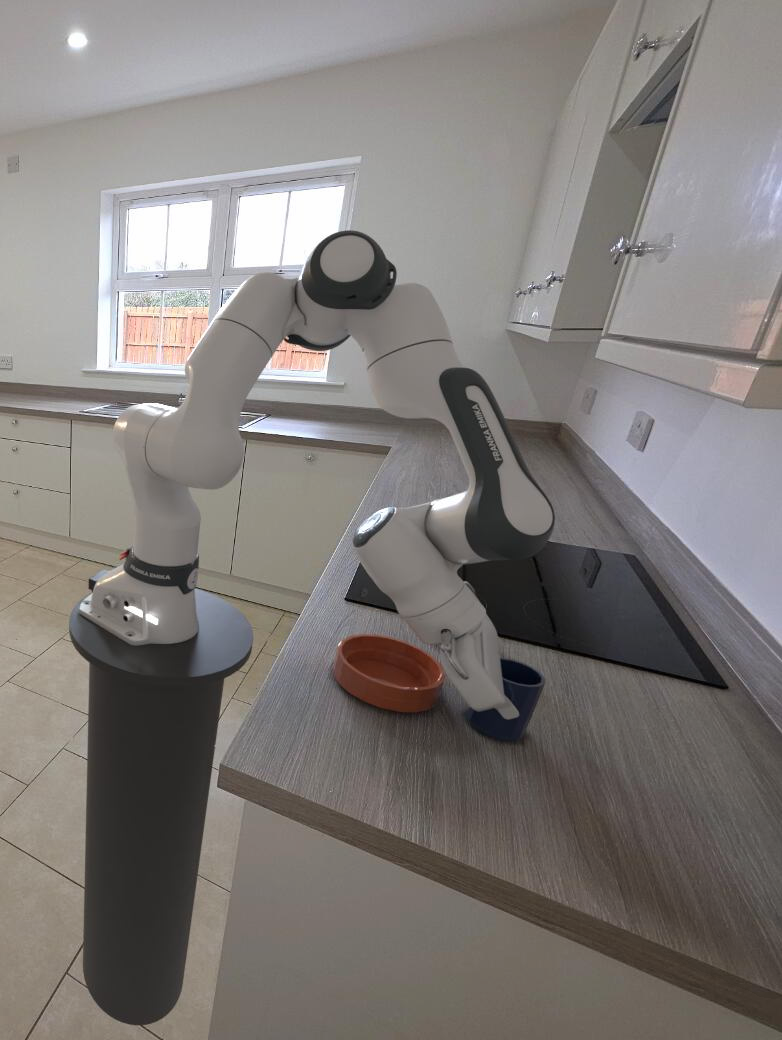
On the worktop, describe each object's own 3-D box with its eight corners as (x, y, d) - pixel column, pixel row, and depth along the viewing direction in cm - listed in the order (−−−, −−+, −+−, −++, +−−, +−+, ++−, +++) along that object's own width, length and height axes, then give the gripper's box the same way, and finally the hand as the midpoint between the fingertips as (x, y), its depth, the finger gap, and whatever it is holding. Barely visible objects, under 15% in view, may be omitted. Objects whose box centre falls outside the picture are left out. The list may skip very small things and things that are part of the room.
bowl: (320, 688, 85) (325, 663, 84) (346, 647, 96) (352, 624, 94) (427, 730, 77) (436, 703, 75) (444, 680, 87) (452, 656, 85)
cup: (463, 727, 78) (482, 673, 74) (469, 703, 82) (487, 652, 79) (521, 749, 74) (544, 693, 70) (524, 723, 78) (546, 669, 75)
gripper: (469, 642, 67) (546, 738, 66) (467, 577, 83) (529, 653, 82) (417, 661, 71) (488, 752, 70) (424, 595, 87) (483, 669, 86)
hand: (510, 698), depth 76 cm, fingers closed on cup, 6 cm apart
